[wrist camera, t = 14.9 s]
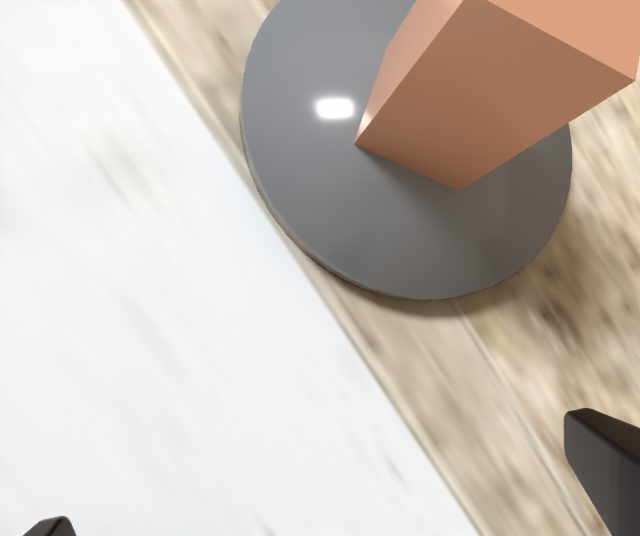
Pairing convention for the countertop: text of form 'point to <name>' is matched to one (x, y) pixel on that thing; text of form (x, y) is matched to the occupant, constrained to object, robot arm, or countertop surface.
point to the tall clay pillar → (493, 79)
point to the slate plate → (379, 165)
